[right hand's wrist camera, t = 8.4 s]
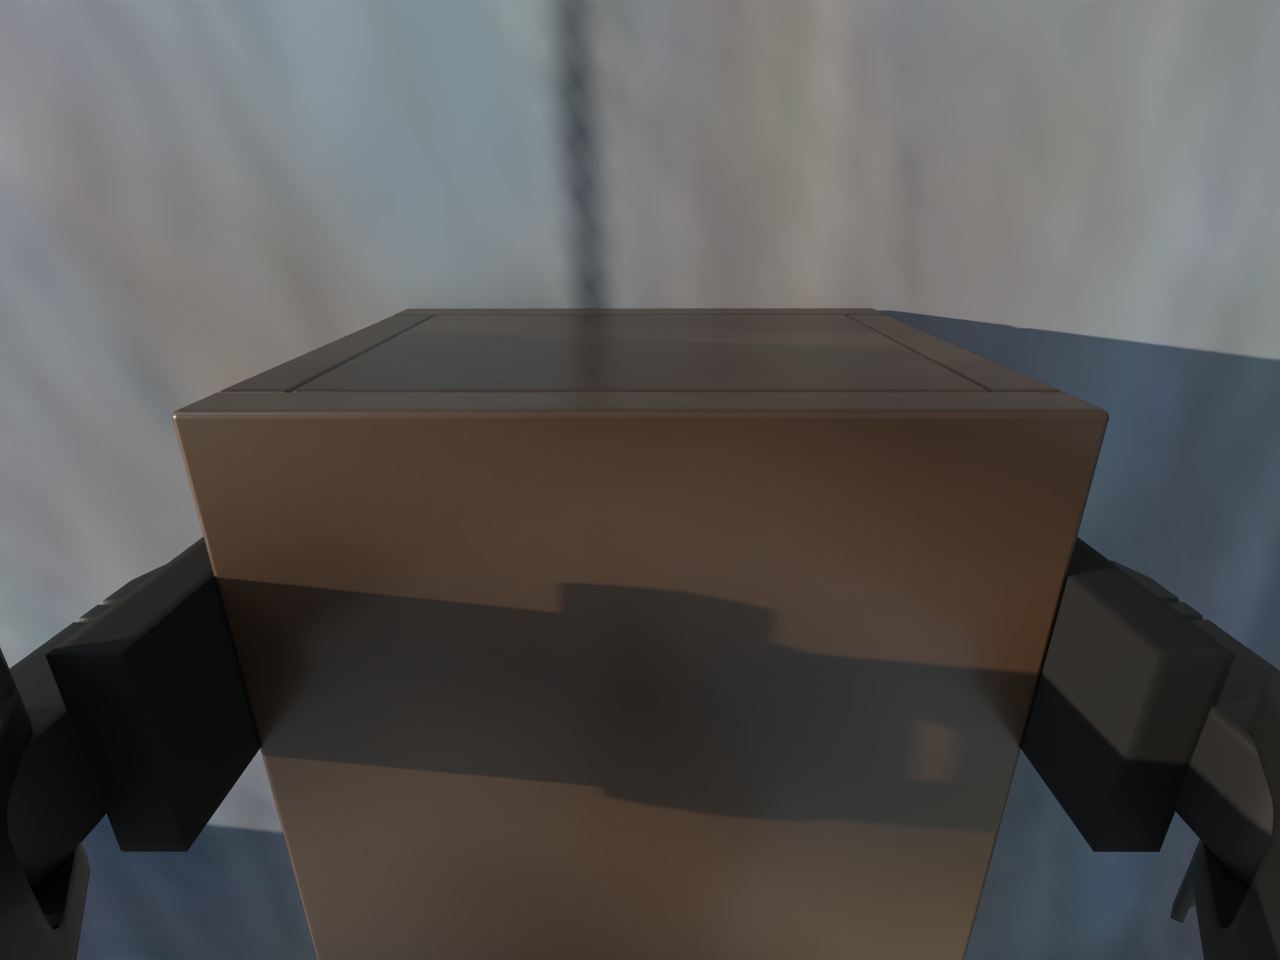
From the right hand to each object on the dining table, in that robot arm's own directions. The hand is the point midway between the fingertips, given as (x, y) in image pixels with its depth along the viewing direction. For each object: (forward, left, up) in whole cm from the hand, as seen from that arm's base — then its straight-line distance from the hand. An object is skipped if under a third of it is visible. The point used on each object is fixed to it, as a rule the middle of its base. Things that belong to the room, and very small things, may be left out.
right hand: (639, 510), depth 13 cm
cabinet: (+4, +6, -3) cm, 8 cm away
